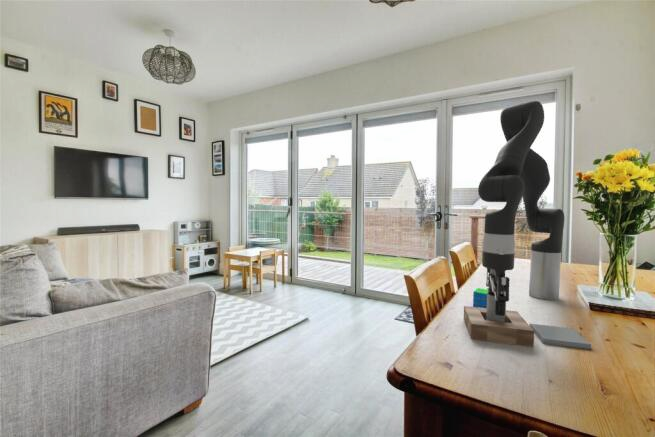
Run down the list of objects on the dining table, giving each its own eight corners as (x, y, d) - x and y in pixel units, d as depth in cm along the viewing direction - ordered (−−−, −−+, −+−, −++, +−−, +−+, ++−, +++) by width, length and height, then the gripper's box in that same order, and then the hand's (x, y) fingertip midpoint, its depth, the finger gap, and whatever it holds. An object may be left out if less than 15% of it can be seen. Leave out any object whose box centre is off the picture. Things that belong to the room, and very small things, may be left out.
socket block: (463, 319, 92) (464, 306, 92) (516, 325, 88) (516, 311, 88) (470, 338, 79) (471, 323, 79) (533, 346, 75) (534, 330, 75)
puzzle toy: (491, 312, 98) (492, 294, 98) (472, 308, 102) (473, 291, 102) (495, 308, 103) (496, 291, 102) (477, 304, 106) (477, 287, 106)
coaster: (529, 327, 86) (529, 323, 86) (571, 332, 83) (571, 328, 83) (543, 343, 77) (543, 338, 77) (591, 349, 74) (591, 344, 74)
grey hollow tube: (507, 335, 81) (509, 297, 80) (488, 334, 82) (490, 296, 81) (501, 328, 85) (502, 292, 85) (483, 327, 86) (485, 291, 86)
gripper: (478, 246, 90) (476, 300, 91) (488, 253, 77) (485, 317, 77) (506, 247, 88) (504, 302, 89) (522, 255, 74) (519, 321, 75)
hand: (495, 309), depth 83 cm, fingers open, 8 cm apart
